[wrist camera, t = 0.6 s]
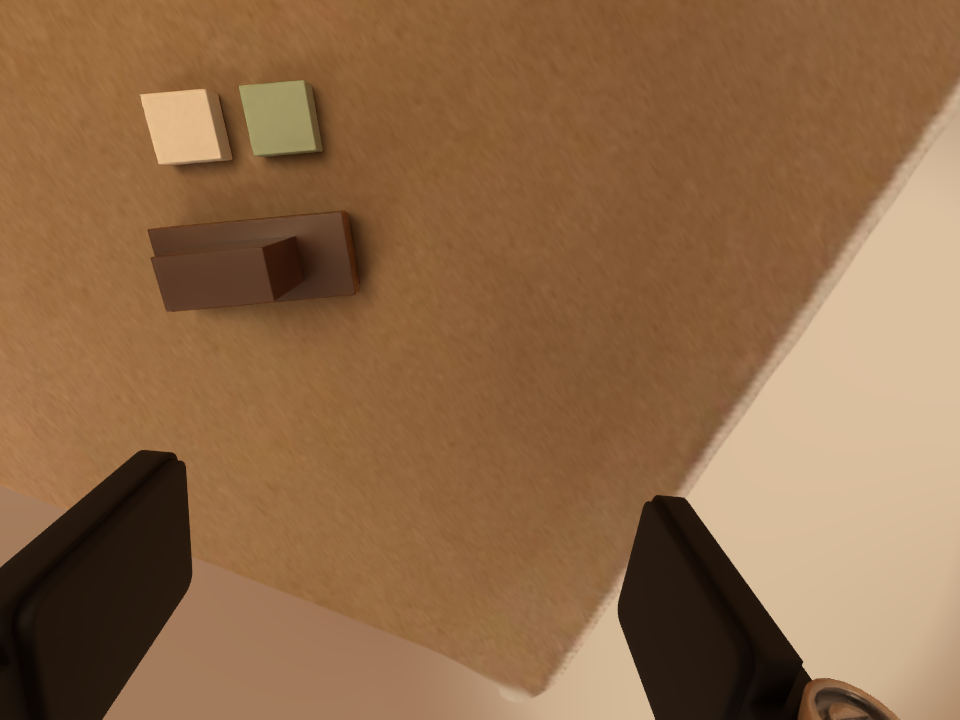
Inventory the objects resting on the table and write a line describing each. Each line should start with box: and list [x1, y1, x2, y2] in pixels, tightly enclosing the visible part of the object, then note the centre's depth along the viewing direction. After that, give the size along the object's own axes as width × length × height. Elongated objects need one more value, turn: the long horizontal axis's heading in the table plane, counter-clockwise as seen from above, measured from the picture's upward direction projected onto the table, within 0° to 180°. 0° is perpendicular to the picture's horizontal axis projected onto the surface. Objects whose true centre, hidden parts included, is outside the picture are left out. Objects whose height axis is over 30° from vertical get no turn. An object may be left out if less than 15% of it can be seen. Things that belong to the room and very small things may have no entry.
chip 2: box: [239, 80, 323, 157], centre depth 33 cm, size 4×4×2 cm
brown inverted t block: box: [148, 211, 360, 312], centre depth 33 cm, size 5×12×9 cm, turn 95°
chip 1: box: [140, 89, 233, 165], centre depth 33 cm, size 4×4×2 cm
